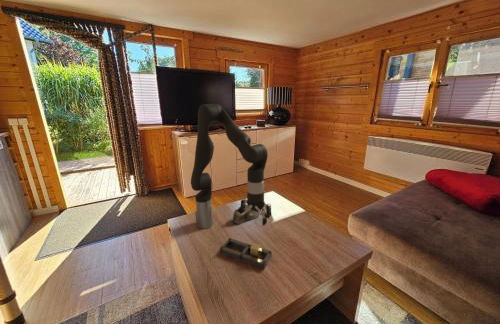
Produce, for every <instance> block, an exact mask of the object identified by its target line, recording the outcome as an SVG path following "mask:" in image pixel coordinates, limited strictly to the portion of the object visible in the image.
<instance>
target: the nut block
mask: <svg viewBox="0 0 500 324" xmlns="http://www.w3.org/2000/svg"><path fill="white" fill-rule="evenodd" d="M251 245H252V246H251V248H250V252H249V253H250V254H249V255H250V256H252V257H255V258H258V259H261V260H262V256H261V250H262V249H263V247H262V246H263V245H262V244H259V243H255V242H253V244H251Z"/></svg>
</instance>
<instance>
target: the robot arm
mask: <svg viewBox="0 0 500 324" xmlns="http://www.w3.org/2000/svg"><path fill="white" fill-rule="evenodd" d="M212 124H220V125H221V126H222V127H224V129H225V130H224V131H225V135H226V137H227V139H228V140H229V142H231V143H232V144H233V145H234V146H235V147H236V148H237V150H238V152H239V153H240V155H241V156H242V158H243V160H245V162H247V163H249V164H251V166H249V167H248V168H247V173H246V174H247V180H246V181H247V182H246V198H247V199H246V198H245V197H243V198H242V199H241V200H240V207H241V212H244V213H245V219H246V221H245V222H248V221H250V220H249V212H248V211H249V210H250V209H251V210H252V211H256V212H259V213H260V214H259V216H261V217H262V222H261V223H262V224H261V225H262V226H265V225H267V222H268V219H270V218H271V216H272V204H271V203H265V176H264V175H265V168H266V164H267V160H268V155H269V154H268V149H267V147H266V145H264V144H262V143H258V144H253V145H251V143H252V140H251V139H252V138H251V137H250V136H249V135H248V134H247V133H246V132H245V131H244V130H242V129H241V128H240V127H239V126H238V125H237V124H236V123H235V121H234V120H233V119H232V118H231V117H230V115H229V114H228V113H227V112H226V111H225V109H224V108H223V106H222V105H220V104H218V103H206V104H201V105H200V106H199V107H198V112H197V137H196V144H195V145H196V146H195V152H194V162H193V163H194V164H193V168H192V172H191V178H190V185H191V189H192V190H193V191H196V192H198V193H196V195H195V197H194V198H195V207H196V208H195V209H196V210H195V212H194V213H195V222H196V223H195V224H196V225H197V226H198V228H199V229H209V228H211V227H212V226H213V225H214V220H213V216H214V215H213V206H212V205H213V203H212V202H213V201H212V194H213V190H212V189H213V188H212V185H213V184H212V183H213V182H212V177H211V175H210V173H208V172H204V171H205V169H206V168H207V167H208V166H209V164H210V163H211V161H212V160H213V156H214V151H215V150H214V149H215V145H214V142H213V141H212V139H211V137H210V134H209V129H210V125H212ZM245 205H248V206H249V207H248V208H247V209H245Z"/></svg>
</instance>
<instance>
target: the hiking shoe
mask: <svg viewBox="0 0 500 324" xmlns="http://www.w3.org/2000/svg"><path fill="white" fill-rule="evenodd" d="M248 207H249V206H248V204H245V209H247V208H248ZM248 212H249V220H248V221H252V220H255V219H257V218H258V217H259V216H260V213H259V212H256V211H252V210H251V209H250V210H249V211H248ZM232 222H233V223H235V224H237V225H241V224H244V223H245V222H247V221H246V219H245V213H244V212H241V206H239V207H238V208H236V209H235V210H234V211H233V215H232Z"/></svg>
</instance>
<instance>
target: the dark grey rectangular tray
mask: <svg viewBox="0 0 500 324" xmlns="http://www.w3.org/2000/svg"><path fill="white" fill-rule="evenodd" d="M252 245H253V244H249V243H246V242H244V241H239V240H237V239H233V238H228V239H227V240H226V241H225V242H224V243H223V244H222V246H220V247H219V252H220V254H221V255H224V256H226V257H229V258H231V259H234V260H237V261H240V262H243V263H246V264H249V265H251V266H253V267H257V268H259V269H262V270H265V269H266V267H267V266H268V264H269V262H270V260H271V259H272V253H273V252H272V251H271V250H268V249H266V248H262V250H261V257H263V258H264V259H262V258H261V259H258V258H255V257H252V256H251V255H250V254H249V253H250V248H251V246H252ZM230 246H231V247H233V248H236V249H240V250H242V251H241V252H239V251H237V250H234V249H232V248H230Z"/></svg>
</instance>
